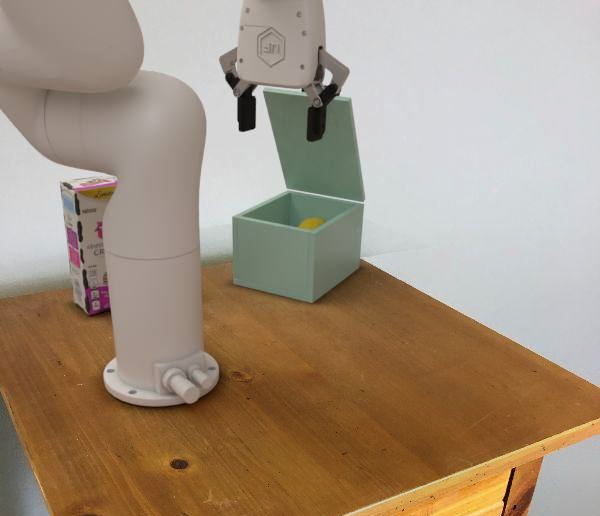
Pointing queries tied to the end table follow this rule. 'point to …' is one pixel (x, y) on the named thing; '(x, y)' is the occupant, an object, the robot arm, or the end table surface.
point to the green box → (296, 245)
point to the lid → (316, 146)
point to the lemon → (311, 223)
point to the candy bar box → (87, 239)
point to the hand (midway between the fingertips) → (280, 135)
